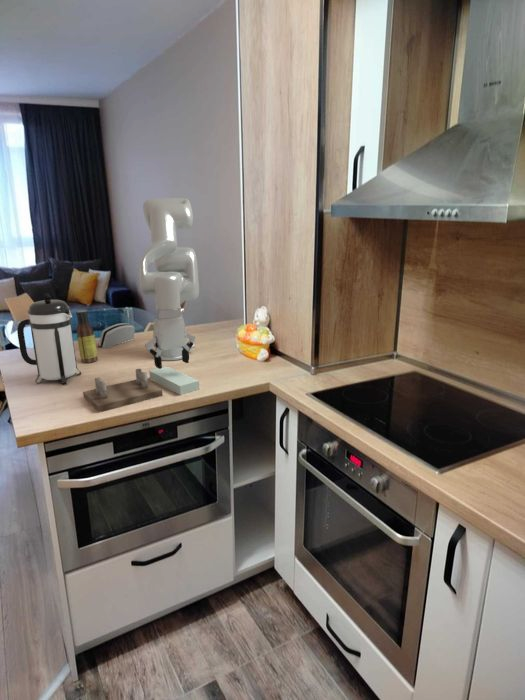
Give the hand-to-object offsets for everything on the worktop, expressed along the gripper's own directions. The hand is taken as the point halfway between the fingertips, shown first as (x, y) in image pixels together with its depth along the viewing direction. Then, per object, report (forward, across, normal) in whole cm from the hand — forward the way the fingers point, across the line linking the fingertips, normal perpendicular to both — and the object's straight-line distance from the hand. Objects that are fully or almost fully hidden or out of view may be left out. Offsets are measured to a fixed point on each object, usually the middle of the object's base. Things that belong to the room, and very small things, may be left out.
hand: (172, 365), depth 153 cm
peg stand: (+7, +17, -1) cm, 18 cm away
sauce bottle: (+6, +14, -44) cm, 47 cm away
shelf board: (+7, 0, -1) cm, 7 cm away
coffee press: (+7, +30, -32) cm, 44 cm away
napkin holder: (+6, -4, -61) cm, 62 cm away
